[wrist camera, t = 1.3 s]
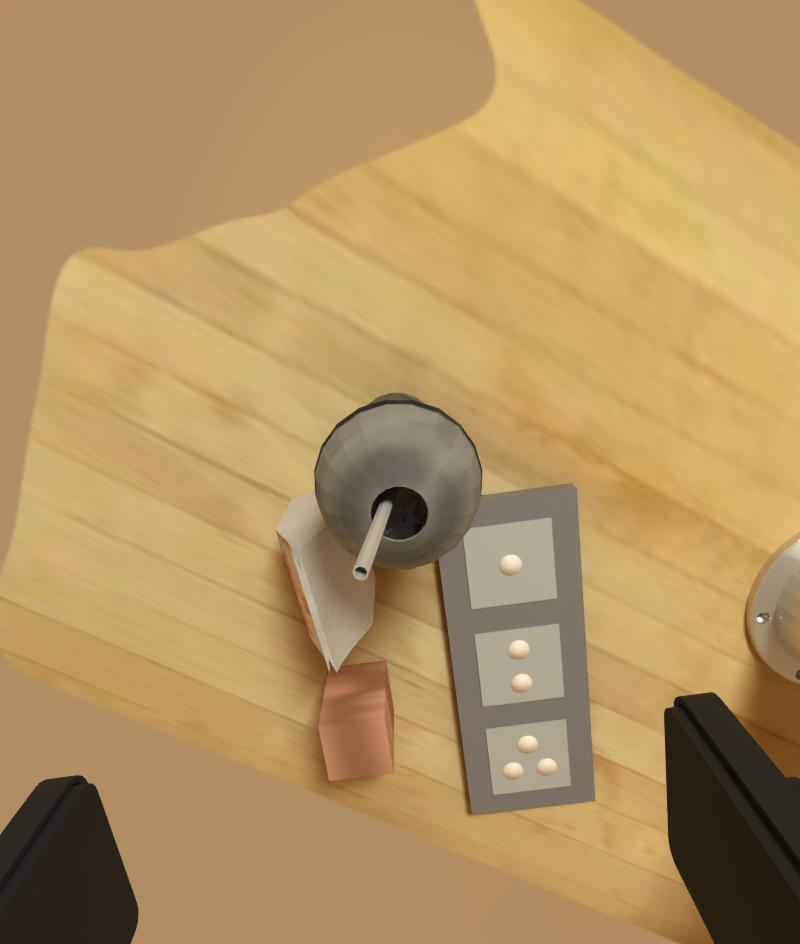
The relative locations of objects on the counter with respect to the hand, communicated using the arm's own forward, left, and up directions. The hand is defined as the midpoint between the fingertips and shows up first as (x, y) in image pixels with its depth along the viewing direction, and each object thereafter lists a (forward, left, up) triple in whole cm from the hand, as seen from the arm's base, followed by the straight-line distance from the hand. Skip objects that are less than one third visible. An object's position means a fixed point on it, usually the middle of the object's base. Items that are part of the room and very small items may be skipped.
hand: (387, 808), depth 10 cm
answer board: (-6, +17, -28) cm, 33 cm away
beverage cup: (0, 0, -28) cm, 28 cm away
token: (+5, +18, -28) cm, 34 cm away
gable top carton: (+5, +6, -29) cm, 30 cm away
